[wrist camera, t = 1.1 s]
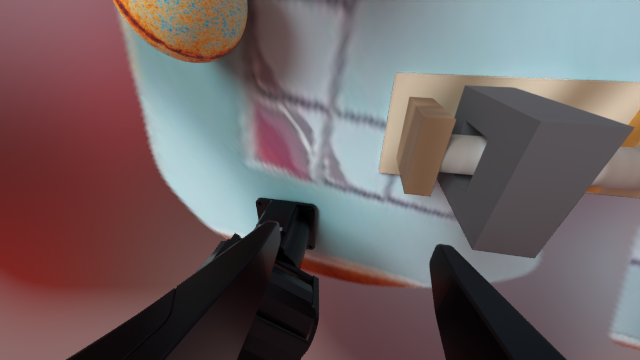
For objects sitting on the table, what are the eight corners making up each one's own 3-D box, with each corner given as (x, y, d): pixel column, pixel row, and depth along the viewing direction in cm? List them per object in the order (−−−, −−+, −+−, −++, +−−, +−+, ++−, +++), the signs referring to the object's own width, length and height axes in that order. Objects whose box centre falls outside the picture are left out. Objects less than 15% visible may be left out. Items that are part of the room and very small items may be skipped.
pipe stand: (781, 87, 13) (1020, 115, 9) (669, 197, 18) (785, 258, 13) (395, 72, 16) (407, 86, 12) (378, 169, 21) (382, 209, 16)
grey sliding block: (514, 87, 15) (634, 127, 8) (474, 179, 19) (534, 258, 12) (464, 85, 15) (540, 121, 9) (435, 175, 19) (472, 249, 12)
